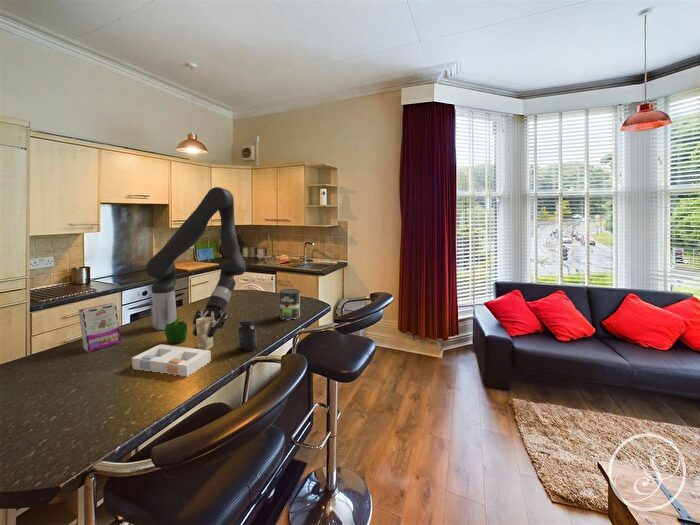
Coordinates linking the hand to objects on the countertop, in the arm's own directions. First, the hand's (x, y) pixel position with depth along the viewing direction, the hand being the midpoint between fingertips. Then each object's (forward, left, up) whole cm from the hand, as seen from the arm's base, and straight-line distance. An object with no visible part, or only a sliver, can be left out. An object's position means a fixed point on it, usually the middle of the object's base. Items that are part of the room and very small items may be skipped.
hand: (202, 336), depth 126 cm
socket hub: (-1, -14, -5) cm, 15 cm away
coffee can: (+17, +46, -5) cm, 49 cm away
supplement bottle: (+17, +5, -5) cm, 18 cm away
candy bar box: (-40, -8, -6) cm, 41 cm away
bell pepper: (-15, +4, -6) cm, 16 cm away
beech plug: (0, +2, -5) cm, 6 cm away
